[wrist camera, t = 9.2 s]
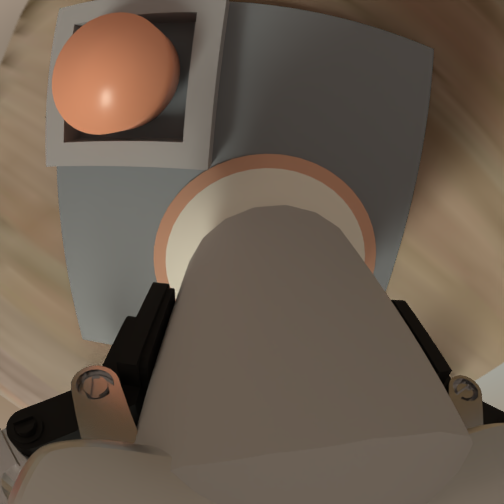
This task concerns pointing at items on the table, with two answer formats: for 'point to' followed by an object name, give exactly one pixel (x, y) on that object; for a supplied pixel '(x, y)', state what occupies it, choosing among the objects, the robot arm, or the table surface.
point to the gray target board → (238, 145)
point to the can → (296, 375)
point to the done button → (115, 74)
